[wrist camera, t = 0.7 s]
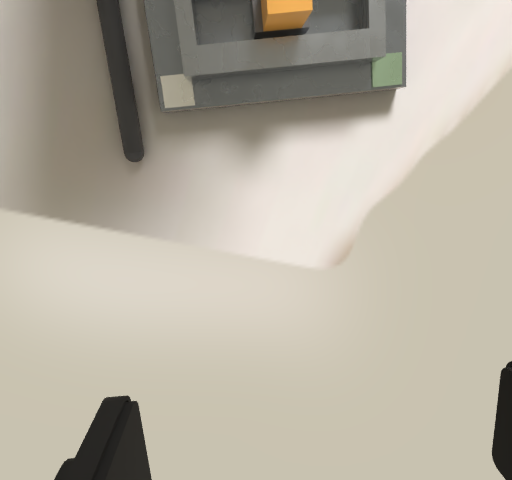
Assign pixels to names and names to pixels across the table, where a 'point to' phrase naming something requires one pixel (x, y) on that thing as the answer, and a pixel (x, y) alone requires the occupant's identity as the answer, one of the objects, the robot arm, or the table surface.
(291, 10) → the breaker lever
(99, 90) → the table surface
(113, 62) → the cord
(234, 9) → the panel
